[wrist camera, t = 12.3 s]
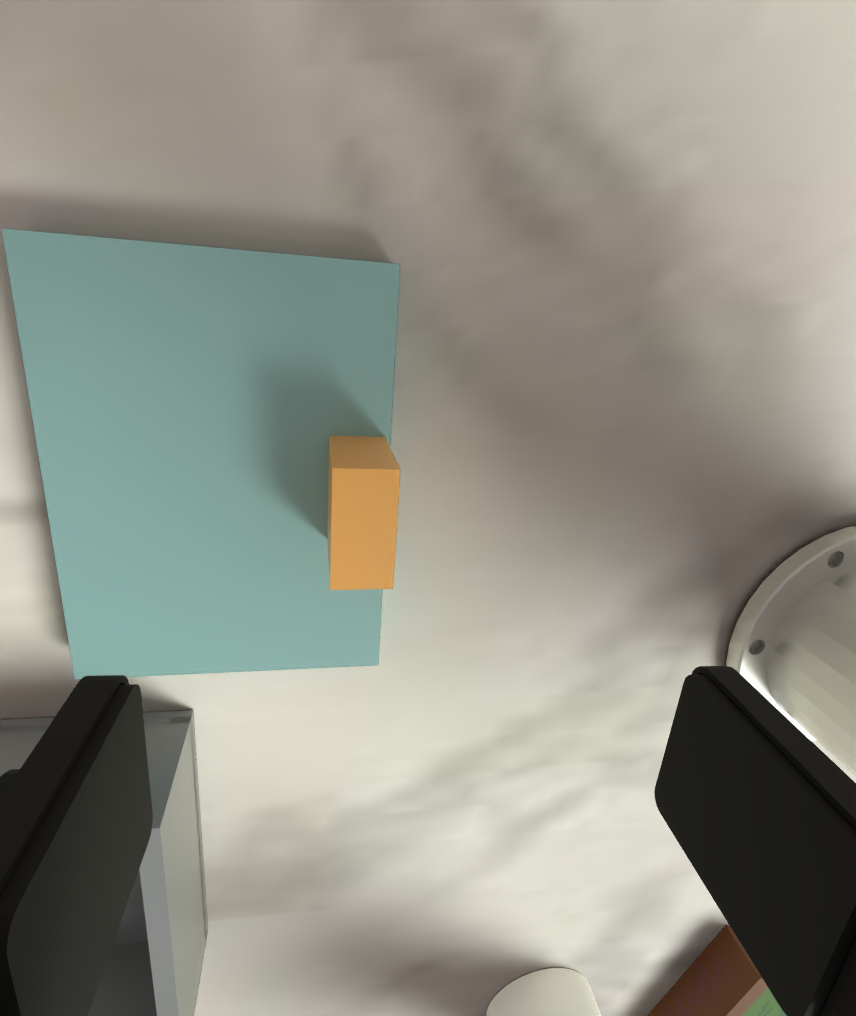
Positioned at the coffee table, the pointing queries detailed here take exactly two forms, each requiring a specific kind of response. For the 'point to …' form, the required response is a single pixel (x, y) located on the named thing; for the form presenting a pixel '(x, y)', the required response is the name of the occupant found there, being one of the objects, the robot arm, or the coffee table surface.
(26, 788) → the robot arm
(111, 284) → the lid
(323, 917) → the coffee table surface
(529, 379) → the coffee table surface
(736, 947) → the hardcover book
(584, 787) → the coffee table surface
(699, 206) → the coffee table surface
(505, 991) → the cylindrical container
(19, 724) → the tub
